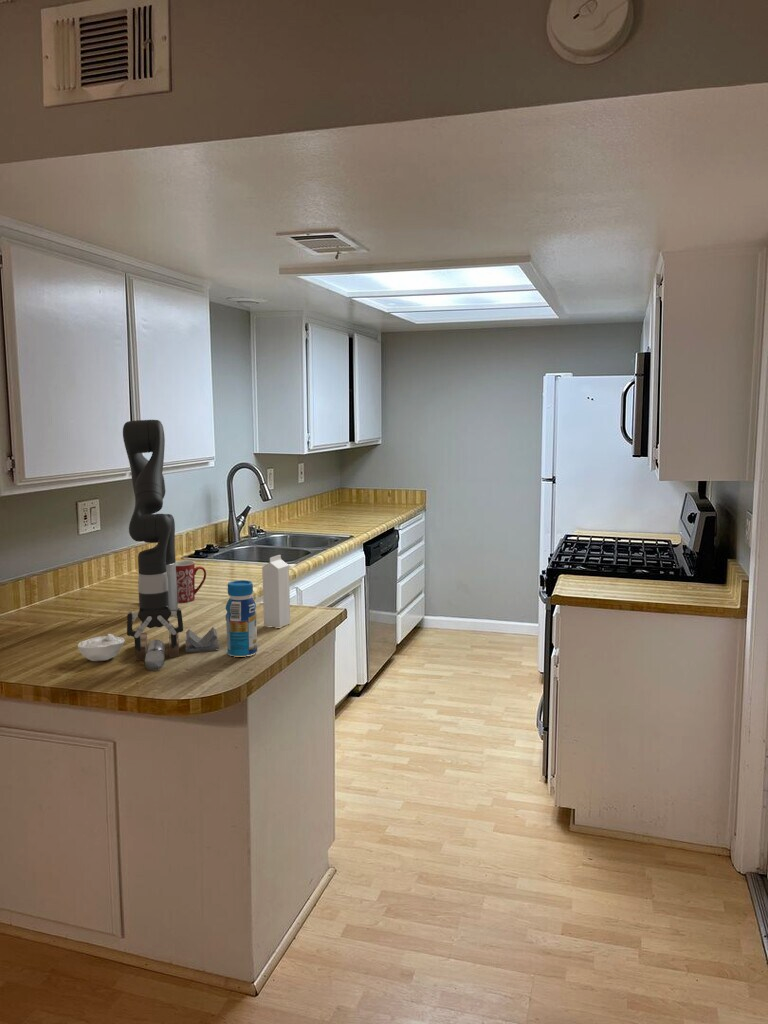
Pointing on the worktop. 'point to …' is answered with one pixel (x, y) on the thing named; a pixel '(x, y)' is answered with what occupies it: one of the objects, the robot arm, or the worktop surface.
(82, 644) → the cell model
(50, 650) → the worktop surface
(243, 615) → the beverage bottle
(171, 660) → the worktop surface
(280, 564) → the milk
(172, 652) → the slotted block
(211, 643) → the v block
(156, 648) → the grey metal cylinder
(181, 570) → the mug
